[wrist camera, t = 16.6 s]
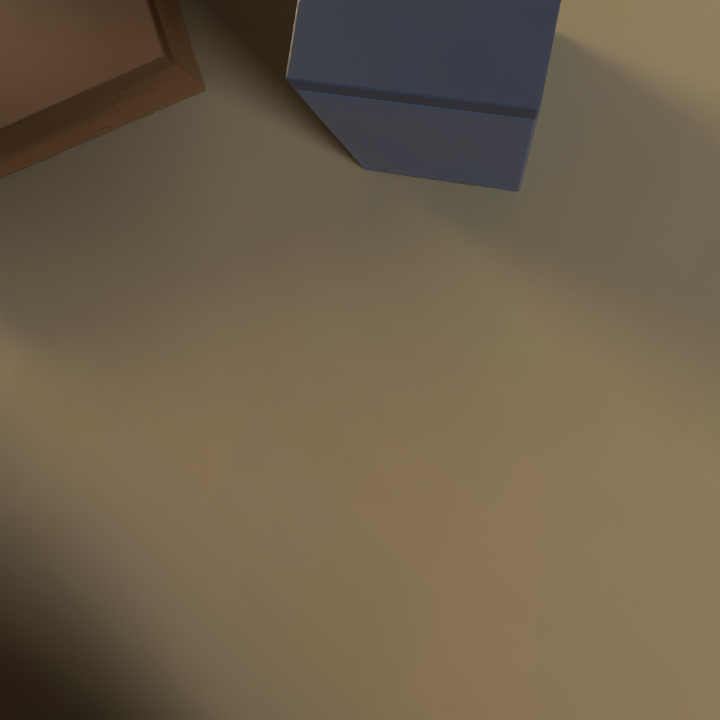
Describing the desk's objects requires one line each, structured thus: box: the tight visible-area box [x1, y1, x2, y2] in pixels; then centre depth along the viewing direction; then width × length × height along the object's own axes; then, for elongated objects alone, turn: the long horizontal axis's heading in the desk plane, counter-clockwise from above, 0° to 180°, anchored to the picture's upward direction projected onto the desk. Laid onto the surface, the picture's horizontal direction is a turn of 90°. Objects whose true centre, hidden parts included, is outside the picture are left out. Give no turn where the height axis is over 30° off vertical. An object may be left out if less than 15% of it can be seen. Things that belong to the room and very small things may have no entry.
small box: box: [286, 0, 561, 191], centre depth 16 cm, size 5×5×8 cm
